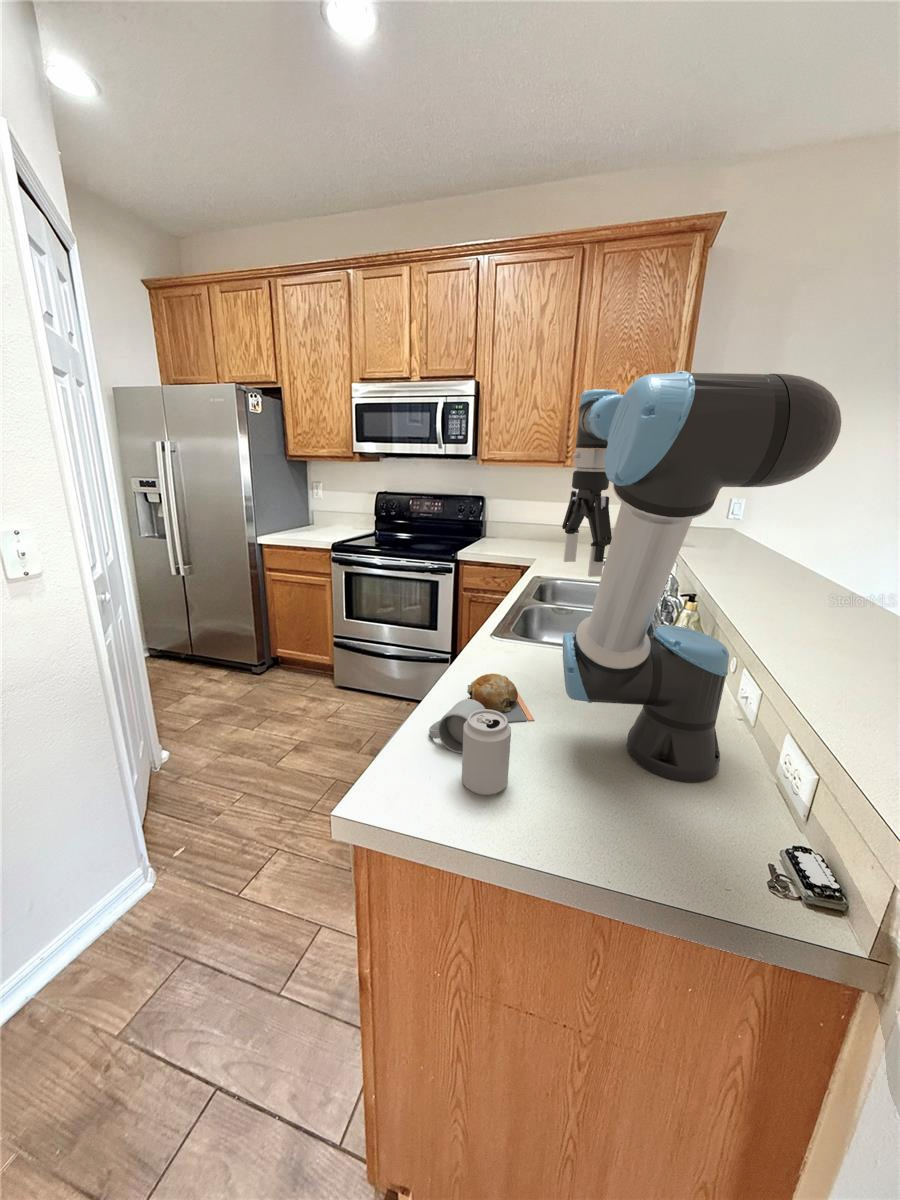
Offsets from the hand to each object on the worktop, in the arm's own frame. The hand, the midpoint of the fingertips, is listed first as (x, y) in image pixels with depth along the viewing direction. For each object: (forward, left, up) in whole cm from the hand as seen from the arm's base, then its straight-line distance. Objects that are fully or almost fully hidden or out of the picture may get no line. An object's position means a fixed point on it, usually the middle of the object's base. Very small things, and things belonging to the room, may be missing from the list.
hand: (581, 568), depth 108 cm
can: (-35, +29, -27) cm, 53 cm away
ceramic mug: (-23, +31, -27) cm, 47 cm away
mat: (-10, +20, -27) cm, 35 cm away
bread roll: (-10, +22, -27) cm, 36 cm away
